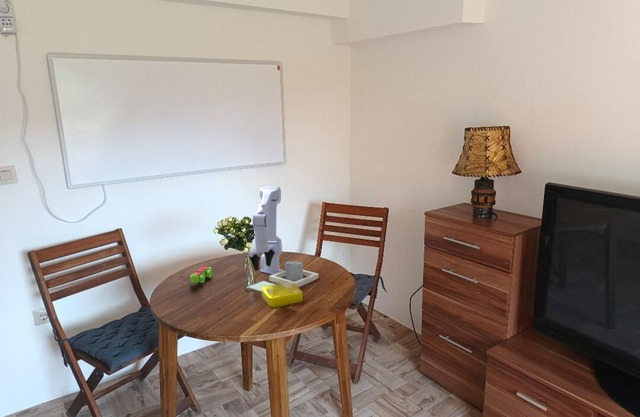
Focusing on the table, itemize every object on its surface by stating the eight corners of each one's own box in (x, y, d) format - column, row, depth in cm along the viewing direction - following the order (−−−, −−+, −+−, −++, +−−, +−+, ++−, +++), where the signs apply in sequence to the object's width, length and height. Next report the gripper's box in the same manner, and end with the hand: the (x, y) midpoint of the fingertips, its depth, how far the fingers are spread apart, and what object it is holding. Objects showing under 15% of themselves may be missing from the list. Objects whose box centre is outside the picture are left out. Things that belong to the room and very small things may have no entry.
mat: (247, 287, 202) (247, 286, 202) (263, 281, 210) (263, 280, 210) (262, 292, 196) (262, 291, 196) (278, 286, 203) (278, 285, 203)
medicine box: (303, 278, 213) (302, 262, 211) (300, 281, 209) (300, 264, 207) (287, 277, 215) (287, 261, 213) (285, 280, 210) (284, 263, 209)
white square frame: (269, 280, 211) (269, 276, 210) (293, 271, 223) (292, 267, 223) (295, 288, 200) (295, 283, 200) (318, 278, 213) (318, 273, 212)
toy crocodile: (203, 272, 224) (203, 261, 223) (215, 273, 223) (215, 262, 222) (185, 286, 205) (184, 274, 204) (198, 287, 204) (198, 274, 203)
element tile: (260, 295, 193) (260, 285, 192) (292, 290, 199) (292, 280, 198) (270, 308, 179) (270, 297, 179) (304, 302, 185) (303, 291, 184)
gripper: (255, 244, 190) (256, 273, 193) (278, 237, 202) (279, 265, 204) (244, 242, 195) (246, 270, 197) (268, 235, 206) (269, 262, 208)
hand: (262, 268), depth 201 cm, fingers open, 7 cm apart
